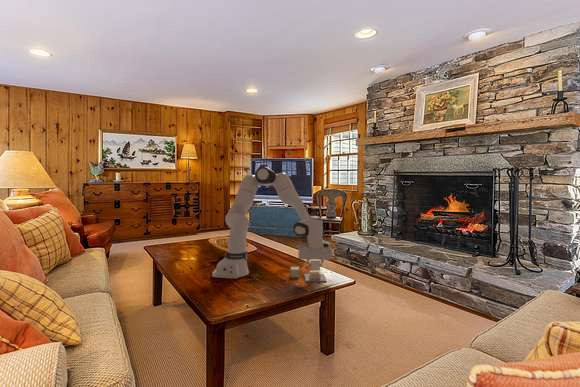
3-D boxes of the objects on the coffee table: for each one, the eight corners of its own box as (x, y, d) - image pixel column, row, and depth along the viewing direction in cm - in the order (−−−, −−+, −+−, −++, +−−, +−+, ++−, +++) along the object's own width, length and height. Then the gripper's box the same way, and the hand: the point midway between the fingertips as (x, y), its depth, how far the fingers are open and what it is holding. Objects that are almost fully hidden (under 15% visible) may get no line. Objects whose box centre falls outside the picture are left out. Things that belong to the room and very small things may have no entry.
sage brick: (290, 277, 187) (290, 269, 187) (290, 274, 192) (290, 266, 192) (299, 277, 187) (299, 269, 187) (298, 274, 192) (298, 266, 192)
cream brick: (311, 270, 182) (311, 262, 181) (310, 267, 187) (310, 259, 186) (319, 270, 182) (319, 261, 182) (318, 267, 187) (319, 259, 187)
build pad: (305, 282, 179) (305, 275, 178) (304, 275, 191) (304, 269, 190) (326, 282, 179) (326, 275, 178) (323, 275, 191) (323, 269, 190)
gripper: (298, 244, 180) (298, 268, 181) (333, 244, 180) (332, 267, 181) (297, 242, 186) (297, 264, 187) (331, 242, 186) (331, 264, 188)
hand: (315, 266), depth 184 cm, fingers closed on cream brick, 5 cm apart
